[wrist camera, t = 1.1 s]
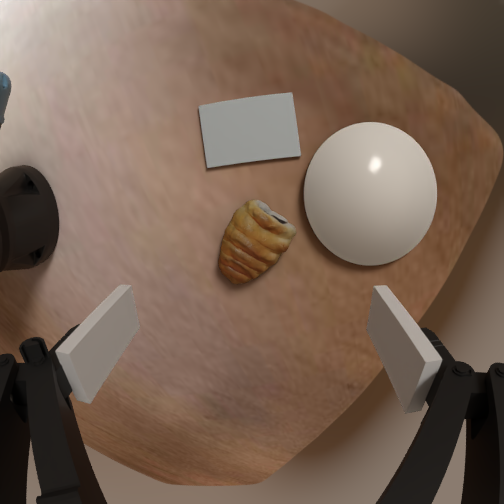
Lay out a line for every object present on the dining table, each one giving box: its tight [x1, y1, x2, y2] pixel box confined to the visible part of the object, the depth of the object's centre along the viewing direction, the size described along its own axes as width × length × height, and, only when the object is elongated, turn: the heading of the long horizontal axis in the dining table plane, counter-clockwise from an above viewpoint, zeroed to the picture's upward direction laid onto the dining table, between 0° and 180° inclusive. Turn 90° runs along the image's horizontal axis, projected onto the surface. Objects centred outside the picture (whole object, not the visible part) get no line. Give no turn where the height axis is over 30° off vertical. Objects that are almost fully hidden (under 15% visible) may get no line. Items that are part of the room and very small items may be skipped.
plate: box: [304, 122, 437, 266], centre depth 31 cm, size 16×16×1 cm
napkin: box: [199, 93, 301, 168], centre depth 30 cm, size 10×7×1 cm
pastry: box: [218, 200, 296, 284], centre depth 32 cm, size 9×7×4 cm
